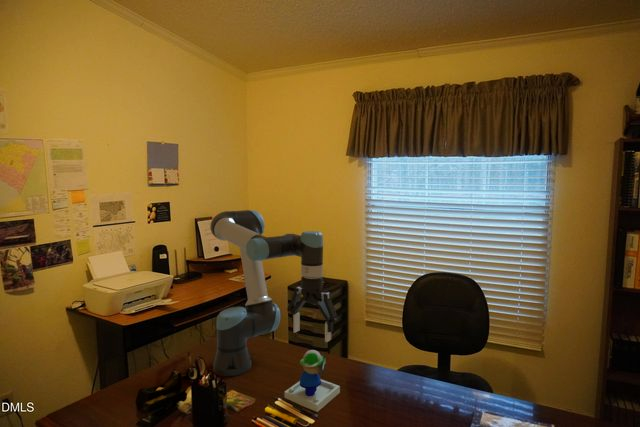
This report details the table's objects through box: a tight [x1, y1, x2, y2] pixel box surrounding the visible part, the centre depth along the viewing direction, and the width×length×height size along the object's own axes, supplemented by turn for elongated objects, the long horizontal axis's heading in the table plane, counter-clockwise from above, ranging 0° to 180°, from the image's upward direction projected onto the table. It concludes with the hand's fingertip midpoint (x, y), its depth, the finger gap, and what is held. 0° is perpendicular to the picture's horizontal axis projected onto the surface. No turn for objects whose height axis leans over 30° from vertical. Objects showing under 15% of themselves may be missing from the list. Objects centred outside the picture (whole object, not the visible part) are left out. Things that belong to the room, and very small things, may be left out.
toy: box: [299, 349, 327, 396], centre depth 128 cm, size 9×9×15 cm
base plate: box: [284, 378, 341, 413], centre depth 128 cm, size 14×14×3 cm
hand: (311, 335), depth 127 cm, fingers open, 13 cm apart
